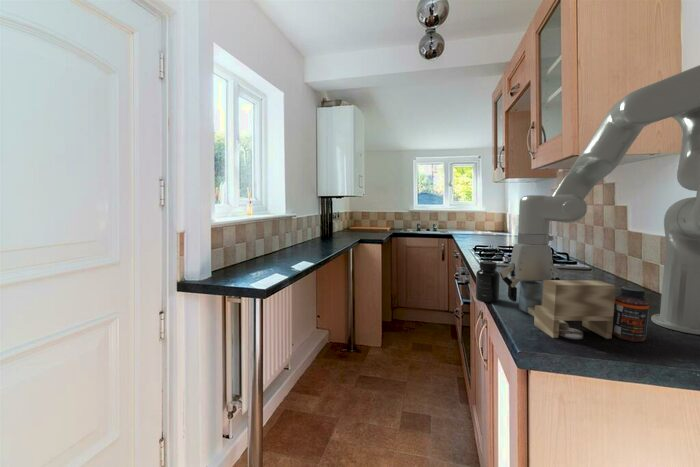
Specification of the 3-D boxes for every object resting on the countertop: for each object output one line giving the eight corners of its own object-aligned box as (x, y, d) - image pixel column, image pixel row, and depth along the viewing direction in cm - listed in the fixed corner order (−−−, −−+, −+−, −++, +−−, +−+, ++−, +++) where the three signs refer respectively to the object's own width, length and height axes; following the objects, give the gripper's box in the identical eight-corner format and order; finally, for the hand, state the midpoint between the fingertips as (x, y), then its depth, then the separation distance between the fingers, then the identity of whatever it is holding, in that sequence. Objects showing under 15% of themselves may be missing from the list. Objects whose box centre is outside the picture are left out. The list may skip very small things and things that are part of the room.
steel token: (573, 332, 80) (573, 327, 80) (588, 340, 75) (588, 335, 75) (552, 331, 80) (552, 327, 80) (565, 340, 75) (565, 335, 75)
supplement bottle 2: (618, 340, 74) (622, 290, 73) (607, 331, 80) (610, 284, 79) (651, 344, 72) (656, 292, 71) (638, 334, 78) (642, 286, 77)
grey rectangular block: (532, 308, 97) (534, 280, 97) (570, 330, 80) (572, 297, 80) (518, 308, 97) (520, 280, 97) (553, 329, 80) (555, 296, 80)
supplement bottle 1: (479, 296, 110) (481, 259, 109) (501, 299, 106) (503, 262, 105) (472, 300, 105) (473, 262, 104) (495, 304, 101) (496, 264, 100)
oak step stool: (587, 325, 83) (590, 277, 82) (611, 338, 75) (615, 285, 74) (534, 325, 83) (536, 277, 82) (552, 337, 75) (555, 285, 74)
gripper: (556, 238, 97) (552, 297, 99) (495, 238, 97) (493, 296, 99) (573, 241, 90) (569, 304, 91) (507, 241, 90) (504, 304, 91)
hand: (529, 300), depth 95 cm, fingers open, 9 cm apart
